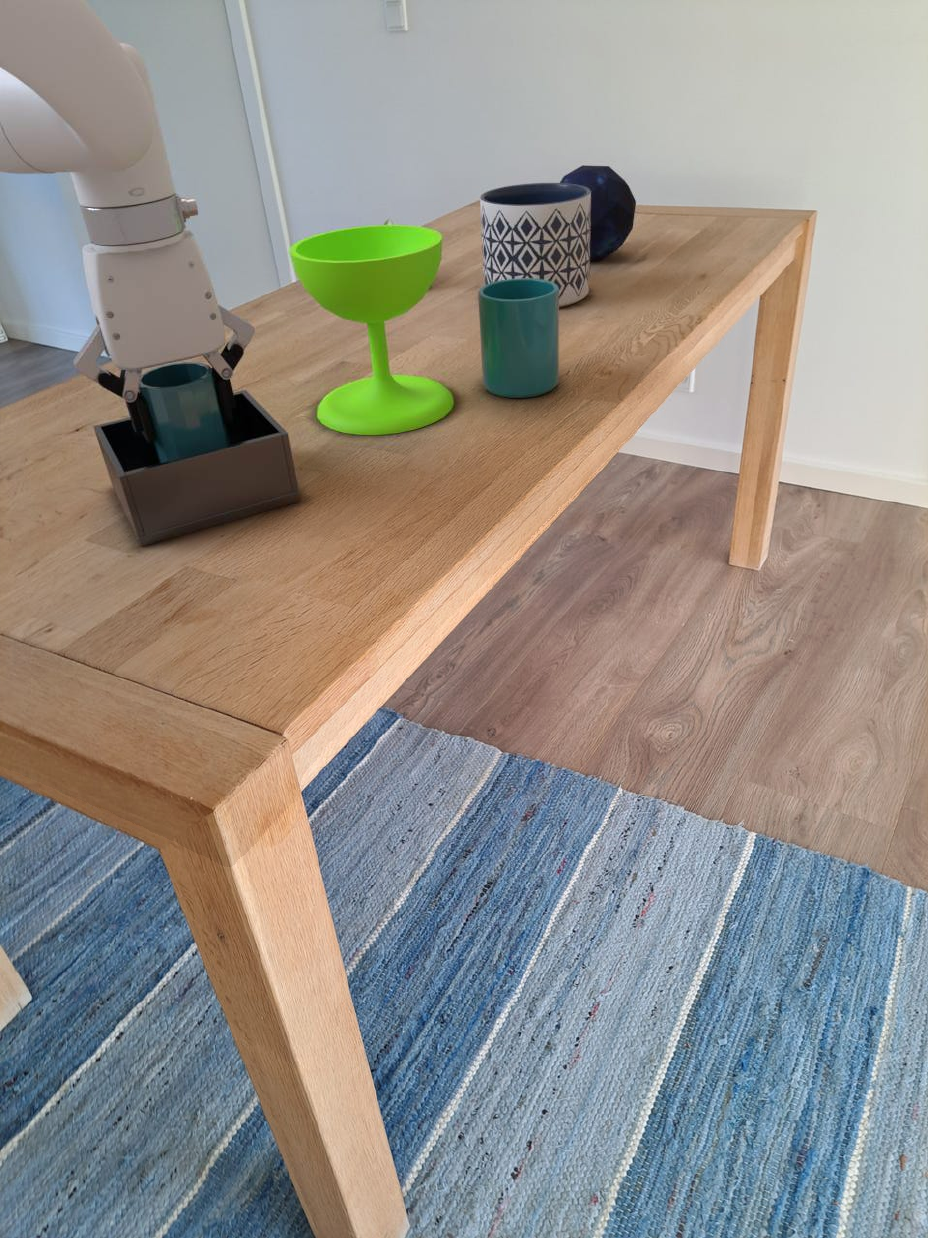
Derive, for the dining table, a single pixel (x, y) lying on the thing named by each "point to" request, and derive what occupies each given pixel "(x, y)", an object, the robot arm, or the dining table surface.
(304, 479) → the dining table surface
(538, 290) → the cup
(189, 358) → the robot arm
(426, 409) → the wineglass
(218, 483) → the grey open box
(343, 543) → the dining table surface
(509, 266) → the planter
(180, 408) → the tumbler
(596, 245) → the decorative orb
